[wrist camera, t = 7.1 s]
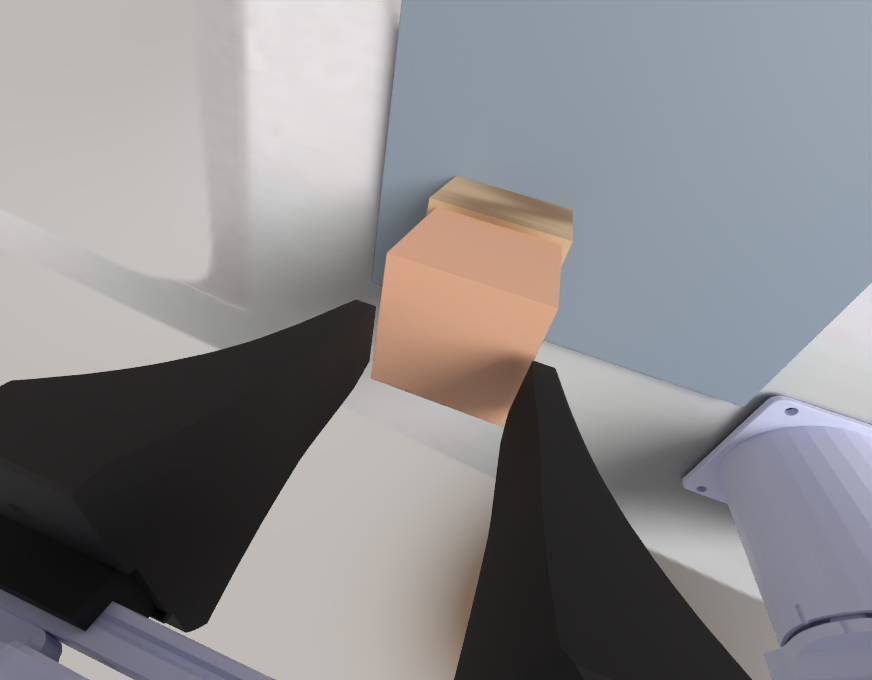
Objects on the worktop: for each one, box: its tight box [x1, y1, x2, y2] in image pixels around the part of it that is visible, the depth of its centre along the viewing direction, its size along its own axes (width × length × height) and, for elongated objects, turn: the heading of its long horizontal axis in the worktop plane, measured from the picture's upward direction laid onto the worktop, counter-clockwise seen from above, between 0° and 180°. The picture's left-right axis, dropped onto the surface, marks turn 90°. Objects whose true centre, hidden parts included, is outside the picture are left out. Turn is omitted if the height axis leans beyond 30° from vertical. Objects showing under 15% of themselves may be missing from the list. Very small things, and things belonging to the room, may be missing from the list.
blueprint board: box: [372, 0, 872, 407], centre depth 15 cm, size 20×16×1 cm
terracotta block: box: [371, 207, 562, 427], centre depth 13 cm, size 5×5×5 cm
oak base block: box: [426, 176, 573, 267], centre depth 16 cm, size 5×5×4 cm
